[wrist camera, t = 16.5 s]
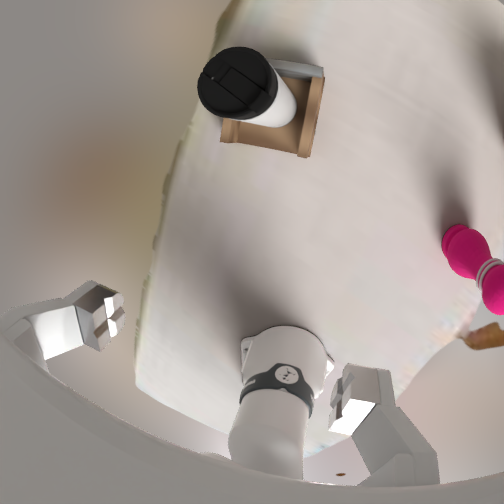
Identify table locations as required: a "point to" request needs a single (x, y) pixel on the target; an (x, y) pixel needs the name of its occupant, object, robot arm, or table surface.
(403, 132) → the table surface
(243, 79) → the travel mug
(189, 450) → the robot arm
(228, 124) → the cradle
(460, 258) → the pepper mill
